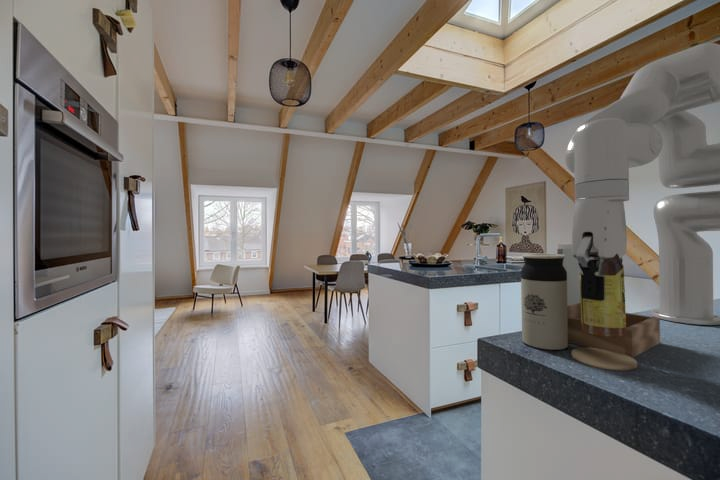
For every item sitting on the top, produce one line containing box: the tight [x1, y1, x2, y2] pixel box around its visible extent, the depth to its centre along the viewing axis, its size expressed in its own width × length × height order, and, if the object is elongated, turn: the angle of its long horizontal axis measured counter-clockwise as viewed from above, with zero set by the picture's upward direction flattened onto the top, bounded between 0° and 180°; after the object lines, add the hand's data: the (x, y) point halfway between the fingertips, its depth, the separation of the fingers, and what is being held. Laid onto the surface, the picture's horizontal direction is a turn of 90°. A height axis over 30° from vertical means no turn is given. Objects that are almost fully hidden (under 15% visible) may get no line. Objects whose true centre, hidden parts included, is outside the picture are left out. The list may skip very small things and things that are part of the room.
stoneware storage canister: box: [520, 253, 569, 351], centre depth 64 cm, size 8×8×18 cm
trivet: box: [571, 346, 638, 372], centre depth 55 cm, size 9×9×1 cm
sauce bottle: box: [579, 254, 627, 338], centre depth 55 cm, size 7×6×20 cm
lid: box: [556, 242, 580, 306], centre depth 69 cm, size 15×1×20 cm, turn 122°
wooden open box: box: [567, 303, 661, 359], centre depth 65 cm, size 14×12×7 cm
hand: (601, 296), depth 55 cm, fingers closed on sauce bottle, 6 cm apart
